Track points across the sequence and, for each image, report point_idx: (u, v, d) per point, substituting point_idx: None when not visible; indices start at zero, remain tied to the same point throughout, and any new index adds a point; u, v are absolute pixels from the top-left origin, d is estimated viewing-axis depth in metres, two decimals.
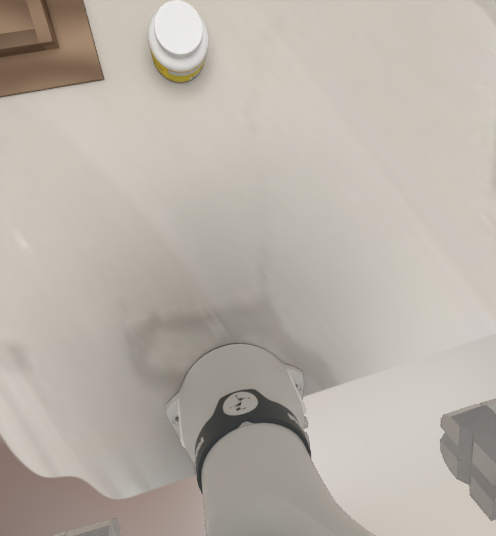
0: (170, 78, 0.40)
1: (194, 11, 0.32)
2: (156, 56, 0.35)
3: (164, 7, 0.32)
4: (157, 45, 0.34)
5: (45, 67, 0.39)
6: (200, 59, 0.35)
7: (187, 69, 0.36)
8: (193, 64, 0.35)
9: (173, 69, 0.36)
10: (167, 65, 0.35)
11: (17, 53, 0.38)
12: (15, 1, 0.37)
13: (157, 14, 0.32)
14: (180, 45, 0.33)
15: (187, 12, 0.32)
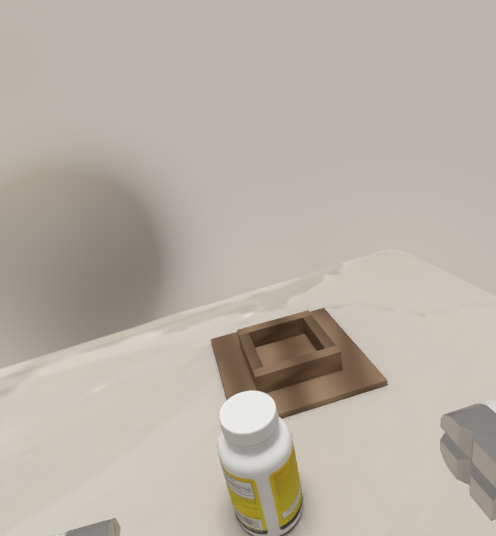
0: None
1: (266, 422, 0.26)
2: None
3: (265, 396, 0.28)
4: None
5: (241, 388, 0.43)
6: (229, 464, 0.26)
7: (219, 455, 0.28)
8: (222, 456, 0.27)
9: None
10: None
11: (249, 369, 0.44)
12: None
13: (258, 392, 0.28)
14: (228, 414, 0.27)
15: (264, 415, 0.26)
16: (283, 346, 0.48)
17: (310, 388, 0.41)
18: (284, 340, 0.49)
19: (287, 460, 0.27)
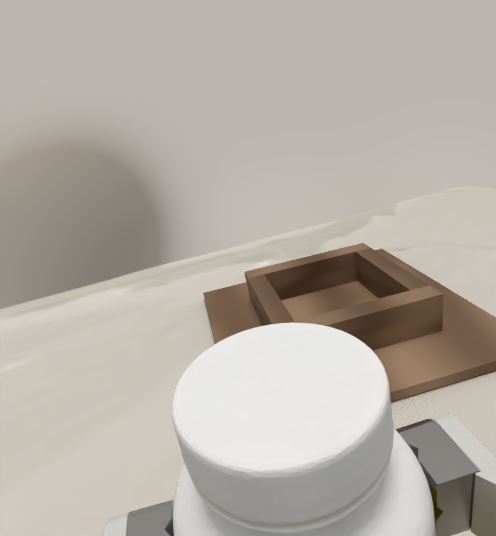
0: None
1: (362, 421, 0.06)
2: None
3: (337, 335, 0.08)
4: None
5: None
6: None
7: None
8: None
9: None
10: None
11: None
12: None
13: (307, 325, 0.09)
14: (206, 392, 0.07)
15: (346, 397, 0.07)
16: (324, 298, 0.28)
17: (386, 362, 0.21)
18: (324, 290, 0.29)
19: None
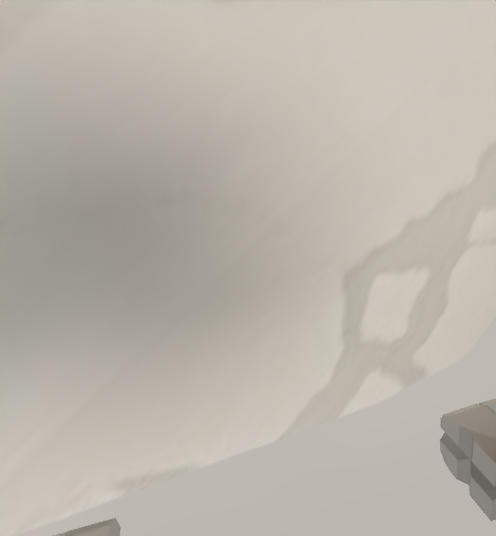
0: None
1: None
2: None
3: None
4: None
5: None
6: None
7: None
8: None
9: None
10: None
11: None
12: None
13: None
14: None
15: None
16: None
17: None
18: None
19: None
